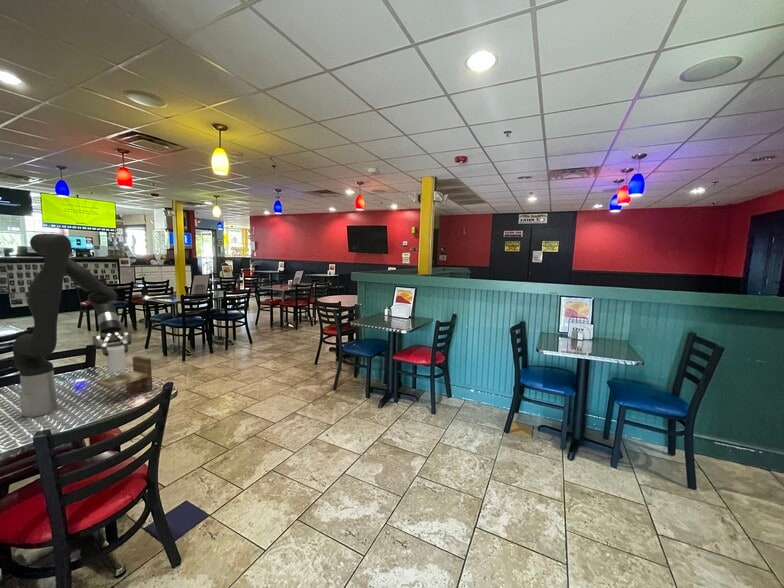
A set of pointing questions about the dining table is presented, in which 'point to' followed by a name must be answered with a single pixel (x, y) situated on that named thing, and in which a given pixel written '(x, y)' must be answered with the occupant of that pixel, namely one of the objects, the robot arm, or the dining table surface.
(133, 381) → the wooden l-shaped bracket
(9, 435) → the dining table surface
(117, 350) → the can
